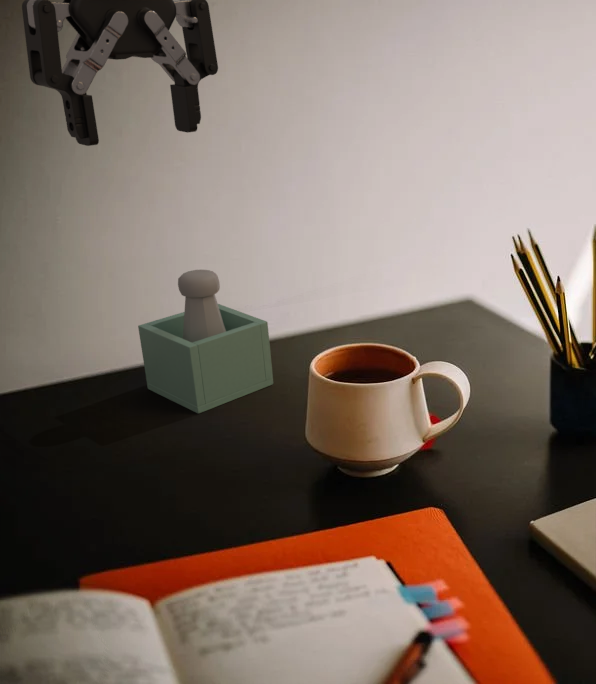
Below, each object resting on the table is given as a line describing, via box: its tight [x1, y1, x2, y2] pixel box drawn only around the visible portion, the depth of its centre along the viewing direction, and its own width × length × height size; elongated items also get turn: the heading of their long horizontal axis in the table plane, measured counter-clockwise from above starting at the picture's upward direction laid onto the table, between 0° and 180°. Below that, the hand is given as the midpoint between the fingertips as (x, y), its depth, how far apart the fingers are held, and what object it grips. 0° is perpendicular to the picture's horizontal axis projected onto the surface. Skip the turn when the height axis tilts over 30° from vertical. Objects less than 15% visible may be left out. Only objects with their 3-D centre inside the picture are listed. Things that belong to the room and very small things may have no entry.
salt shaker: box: [177, 269, 226, 343], centre depth 101 cm, size 6×6×13 cm
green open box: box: [137, 303, 274, 415], centre depth 103 cm, size 10×10×8 cm
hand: (139, 137), depth 72 cm, fingers open, 8 cm apart
